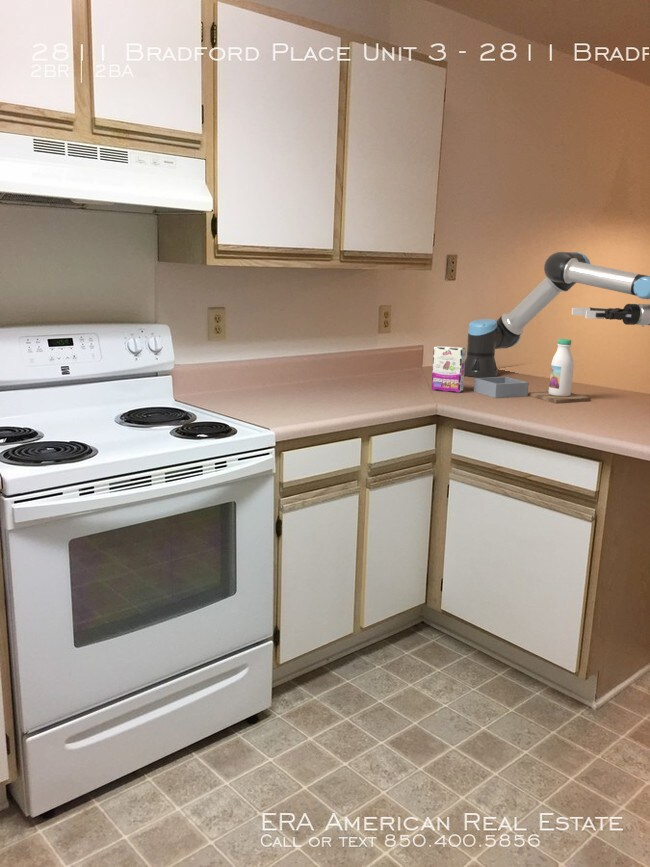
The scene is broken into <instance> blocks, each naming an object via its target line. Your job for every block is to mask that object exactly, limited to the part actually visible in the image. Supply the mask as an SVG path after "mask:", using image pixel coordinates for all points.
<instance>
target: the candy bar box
mask: <svg viewBox="0 0 650 867" xmlns="http://www.w3.org/2000/svg"><path fill="white" fill-rule="evenodd" d="M466 353H467V348H466V347H459V346H458V347H457V346H442V345H437V346H434V347H433V353H432V354H433V355H432V375H431V376H432V377H431V378H432V379H431V390H432V391H439V392H449V393H458V394H459V393H462V392H464V386H465V385H464V384H465V375H464V369H465V360H466Z"/></svg>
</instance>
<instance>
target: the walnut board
mask: <svg viewBox="0 0 650 867" xmlns="http://www.w3.org/2000/svg"><path fill="white" fill-rule="evenodd" d="M528 396H529V397H531V398H535V399H539V400H542V401H547V402H550V403H553V404H566V403H581V402H583V403H584V402H591V397H589V396H585V395H581V394H578V393H574V392H571V395H570V396H553V395H550V394H549V390H547V391H533V392H529V391H528Z"/></svg>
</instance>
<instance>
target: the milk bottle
mask: <svg viewBox="0 0 650 867" xmlns="http://www.w3.org/2000/svg"><path fill="white" fill-rule="evenodd" d="M571 347H572V340H571V339H568V338H559V339H557V349H556V352H554V355H553V358H552V360H551V365H550V371H549V372H550V373H549V382H548V391H549V394H550V395H553V396H570V395H571V393H572V385H573V376H574V364H575V363H574V358H573V356H572V352H571Z"/></svg>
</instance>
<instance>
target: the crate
mask: <svg viewBox="0 0 650 867" xmlns="http://www.w3.org/2000/svg"><path fill="white" fill-rule="evenodd" d="M473 380H474V381H473V392H475V393H479V394H481V395H484V396H486V397H487V396H488V397H490V398H494V399H499V398H500V399H501V398H502V399H503V398H516V397H519V398H520V397H528V396H529V384H530V383H529V382H527V381H525V380H520V379H516V378H512V377H508V376H496V377H474V379H473Z"/></svg>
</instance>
